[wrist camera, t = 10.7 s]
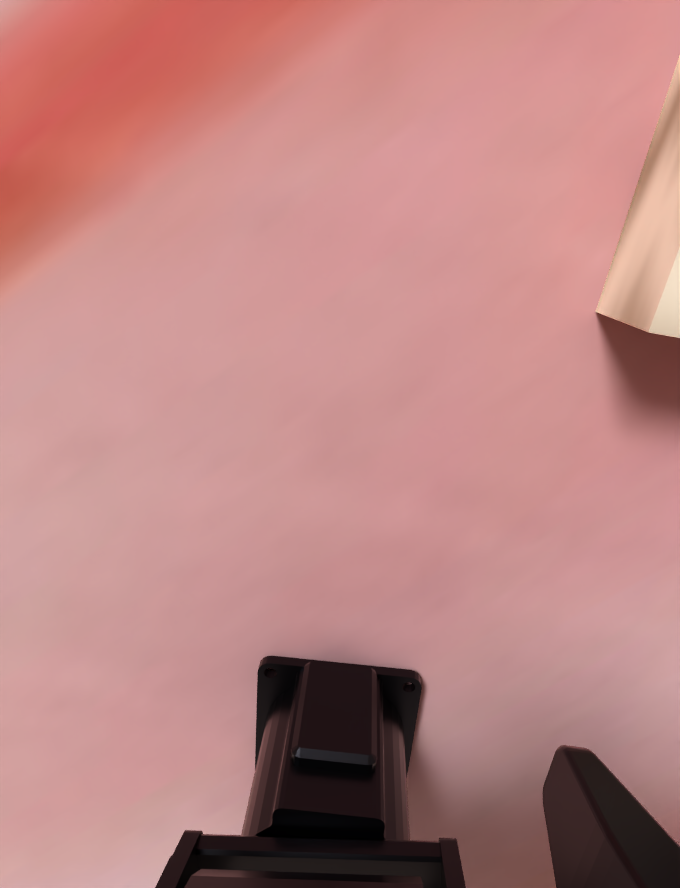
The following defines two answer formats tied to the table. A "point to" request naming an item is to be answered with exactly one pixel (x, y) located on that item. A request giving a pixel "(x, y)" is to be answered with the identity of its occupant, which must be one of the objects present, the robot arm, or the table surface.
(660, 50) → the table surface
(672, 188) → the flat wooden block
